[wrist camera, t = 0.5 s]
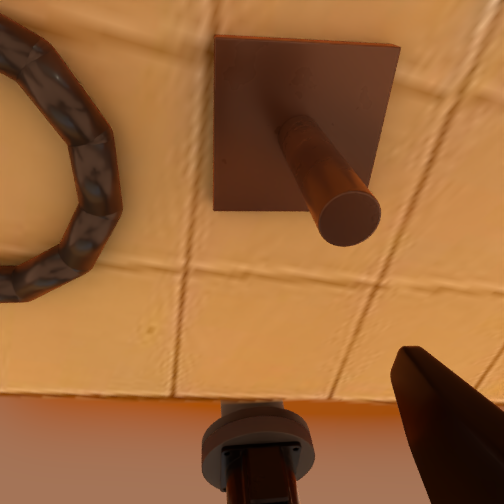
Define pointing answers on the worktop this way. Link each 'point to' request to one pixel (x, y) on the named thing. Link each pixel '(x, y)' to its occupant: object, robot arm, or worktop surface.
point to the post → (300, 129)
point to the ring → (82, 160)
